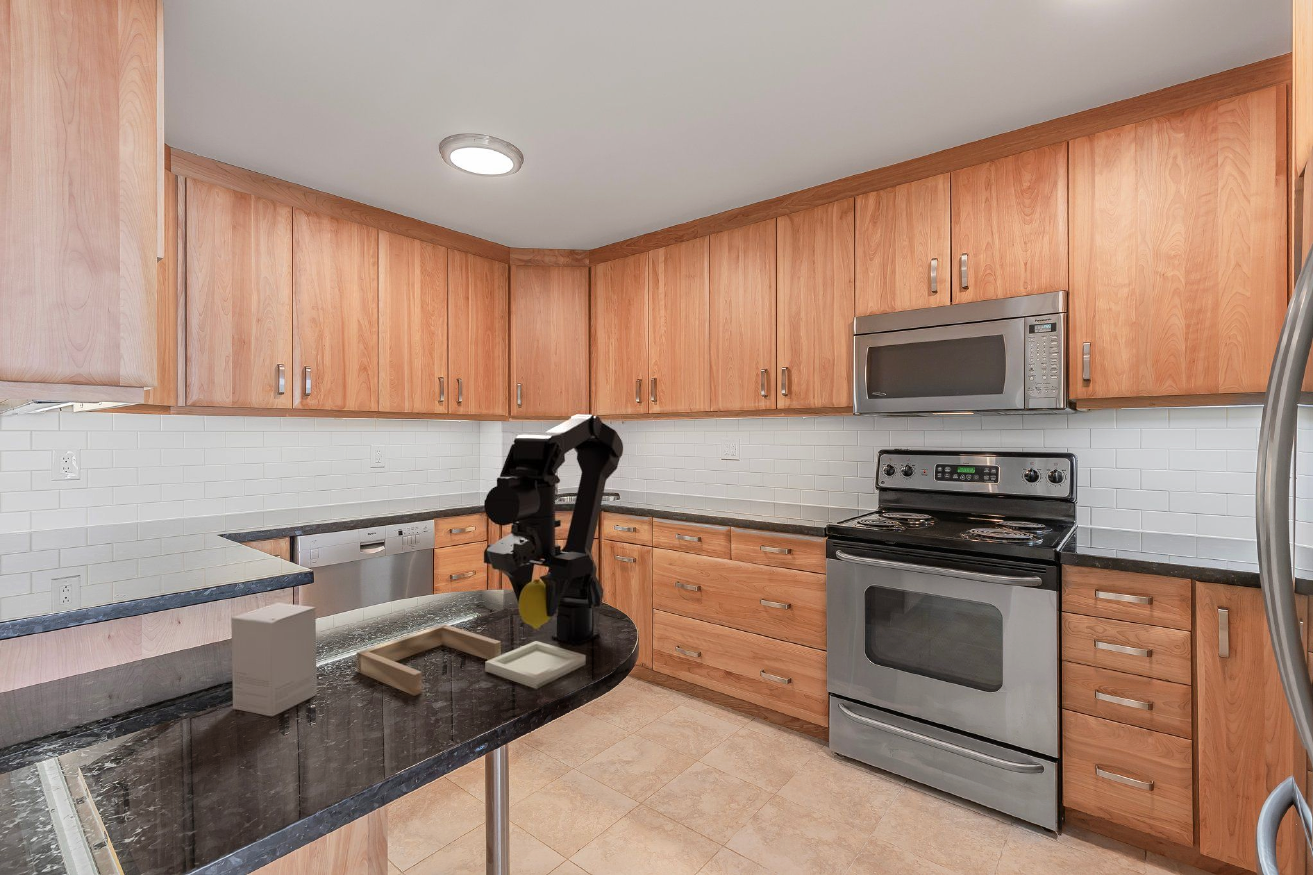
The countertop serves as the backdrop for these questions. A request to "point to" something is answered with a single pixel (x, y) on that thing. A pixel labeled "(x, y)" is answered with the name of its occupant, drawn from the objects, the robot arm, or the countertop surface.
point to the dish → (535, 664)
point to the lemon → (533, 604)
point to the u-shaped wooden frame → (407, 679)
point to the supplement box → (274, 658)
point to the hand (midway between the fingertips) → (536, 612)
